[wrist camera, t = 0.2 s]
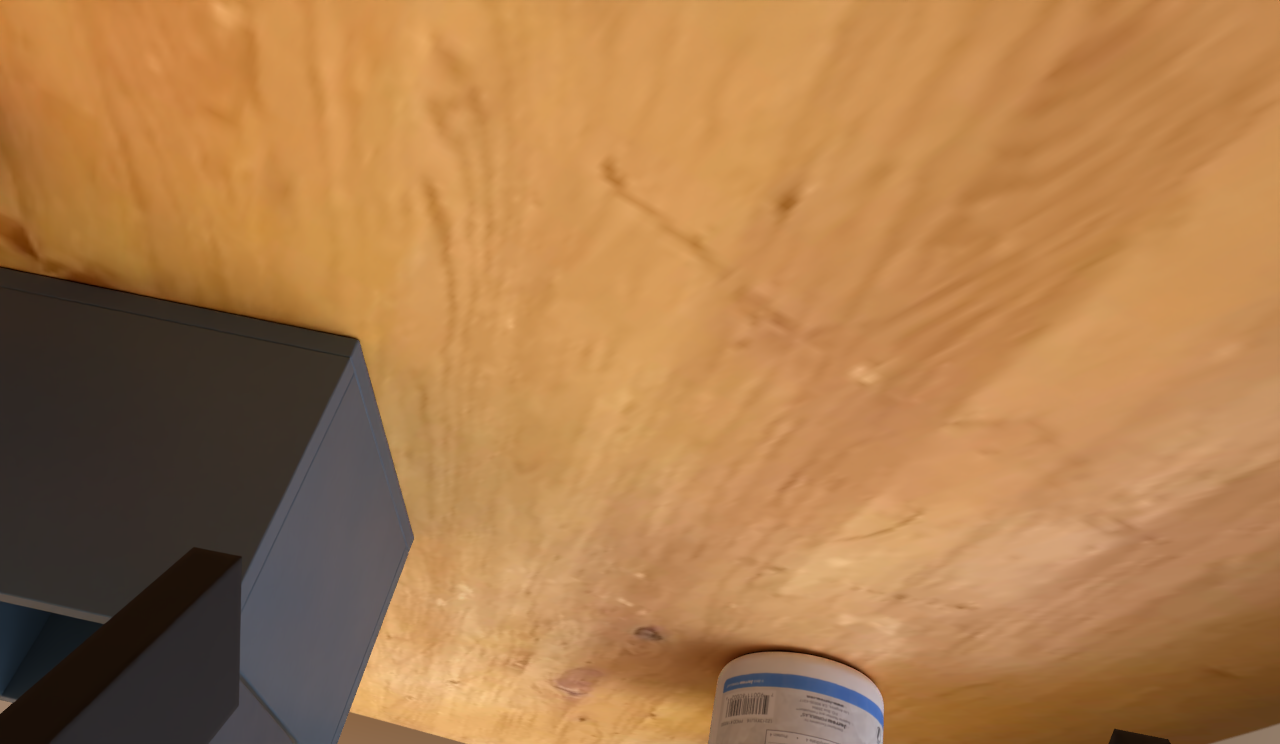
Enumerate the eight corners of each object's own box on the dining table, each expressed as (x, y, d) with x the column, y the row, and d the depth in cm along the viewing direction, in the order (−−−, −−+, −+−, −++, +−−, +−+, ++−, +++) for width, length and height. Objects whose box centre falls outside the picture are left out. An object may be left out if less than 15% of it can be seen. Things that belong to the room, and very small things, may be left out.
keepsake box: (127, 476, 49) (-8, 698, 42) (-35, 259, 36) (-272, 533, 29) (414, 537, 49) (325, 774, 42) (359, 339, 35) (213, 640, 28)
